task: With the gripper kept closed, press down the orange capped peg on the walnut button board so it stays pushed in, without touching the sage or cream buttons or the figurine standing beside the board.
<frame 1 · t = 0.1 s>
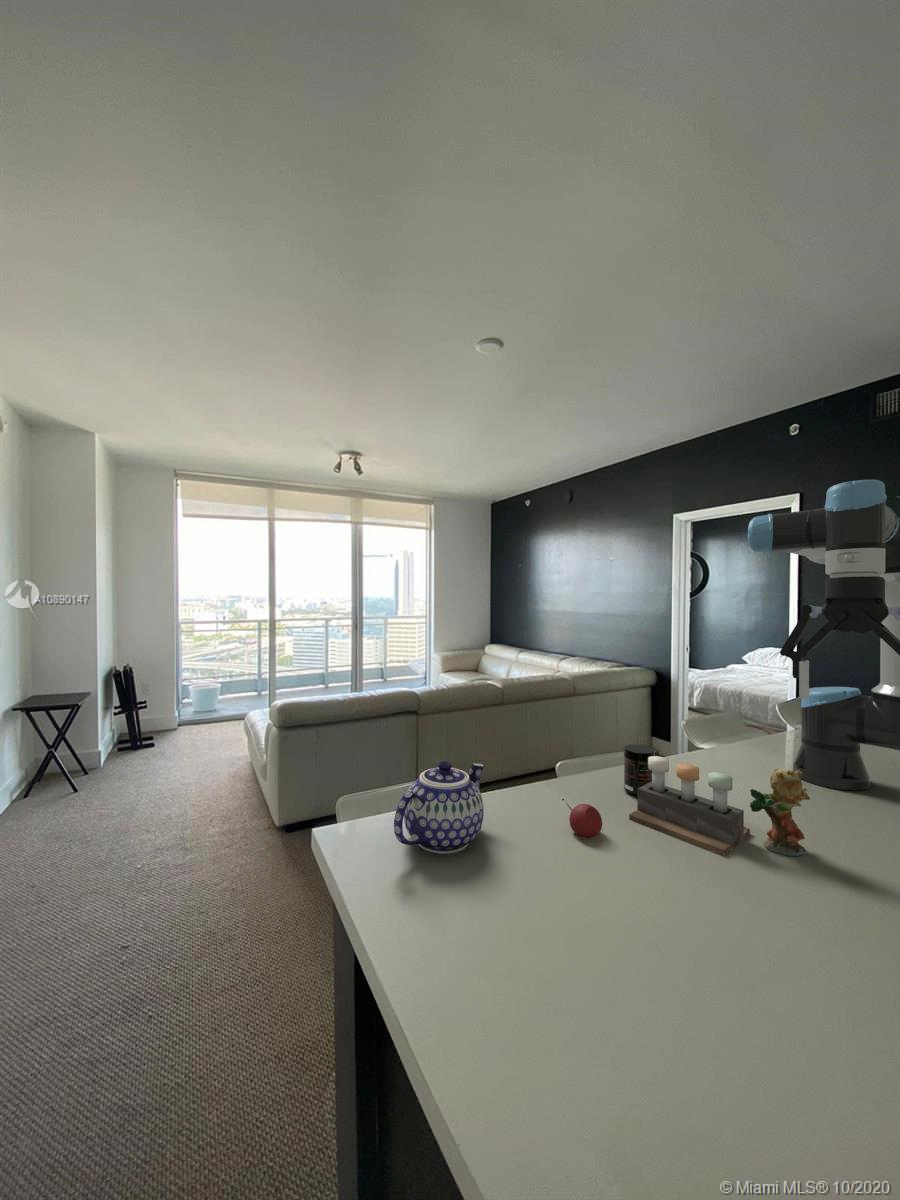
hand: (853, 704, 78), 28 cm above the kitchen island, fingers open, 13 cm apart
fruit: (580, 832, 92), on the kitchen island
teapot: (443, 841, 88), on the kitchen island
figurine: (777, 849, 86), on the kitchen island
sage button: (720, 793, 89), point 9 cm above the kitchen island, slide at 4.0 cm
supplement container: (639, 794, 110), on the kitchen island
cream button: (658, 774, 99), point 9 cm above the kitchen island, slide at 4.0 cm
orange capped peg: (687, 783, 94), point 9 cm above the kitchen island, slide at 4.0 cm
button board: (687, 826, 94), on the kitchen island
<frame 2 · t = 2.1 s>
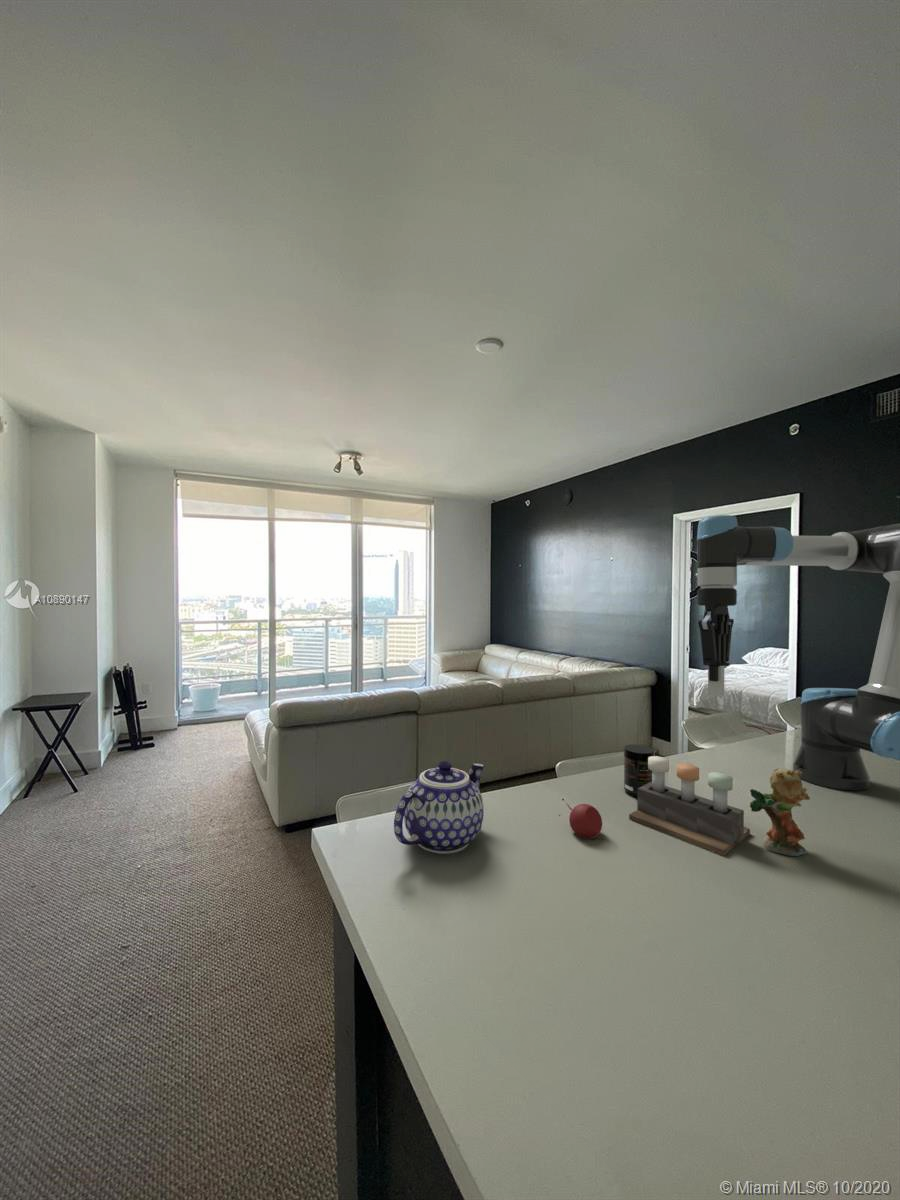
hand: (716, 695, 103), 24 cm above the kitchen island, fingers closed
nothing on the kitchen island moved.
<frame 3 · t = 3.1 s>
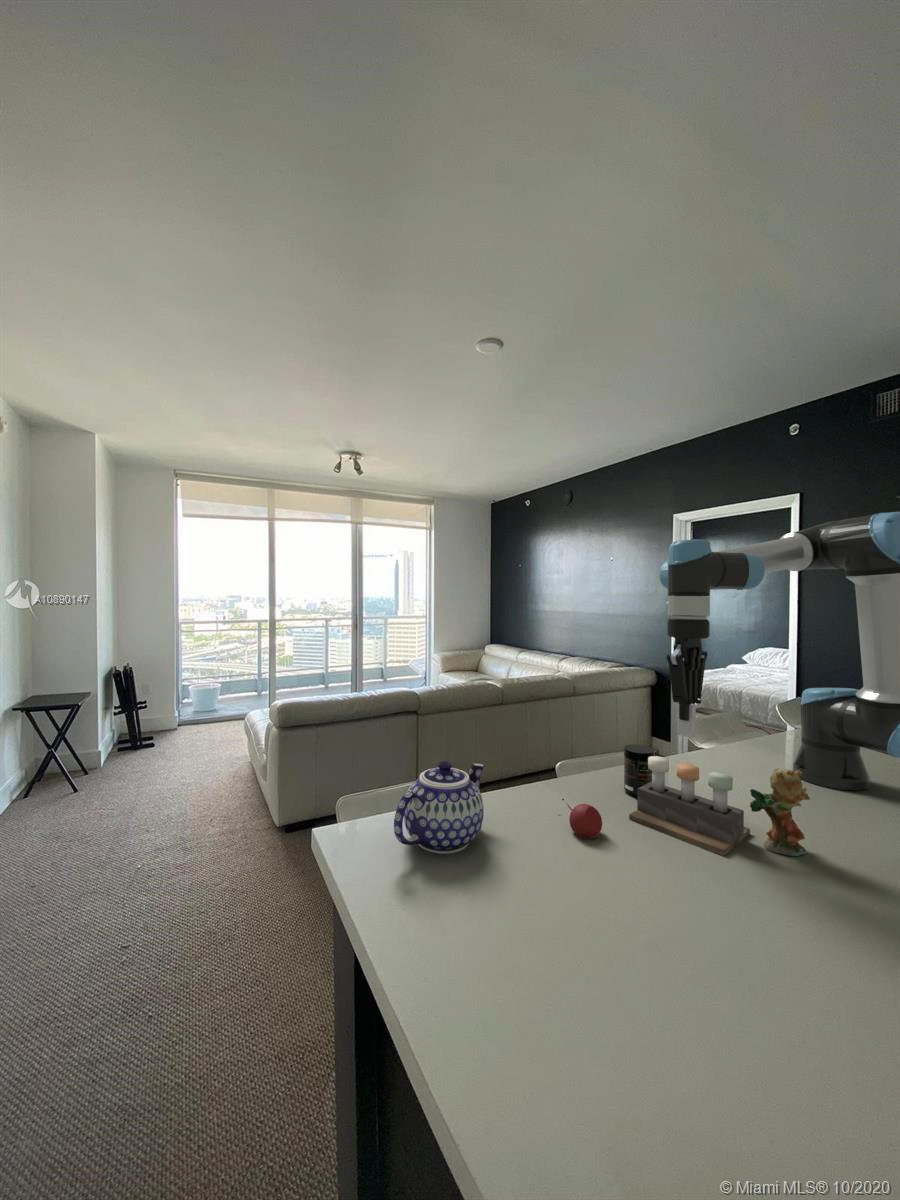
hand: (686, 735, 94), 18 cm above the kitchen island, fingers closed
nothing on the kitchen island moved.
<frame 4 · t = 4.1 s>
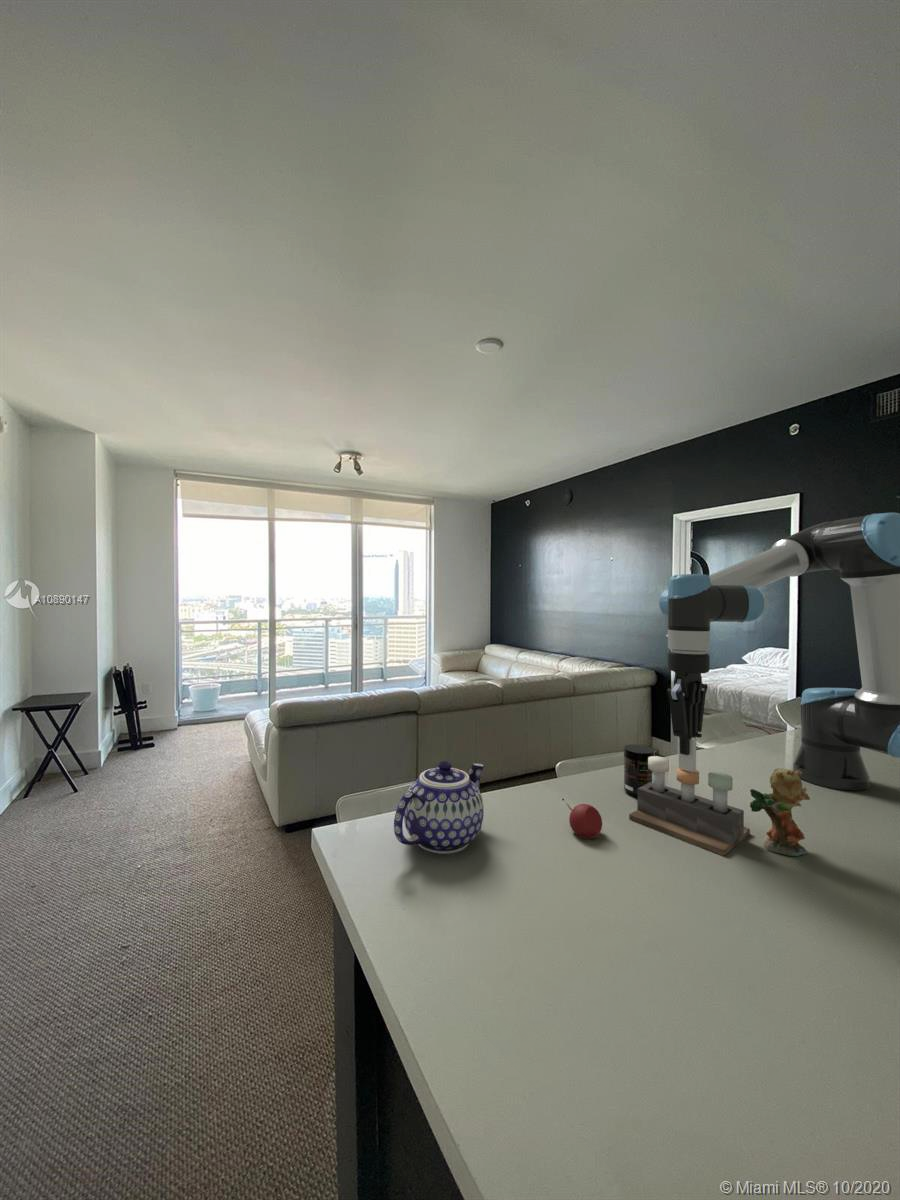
hand: (687, 769, 94), 11 cm above the kitchen island, fingers closed
orange capped peg: (687, 787, 94), point 8 cm above the kitchen island, slide at 3.3 cm, touching gripper
everything else where it was.
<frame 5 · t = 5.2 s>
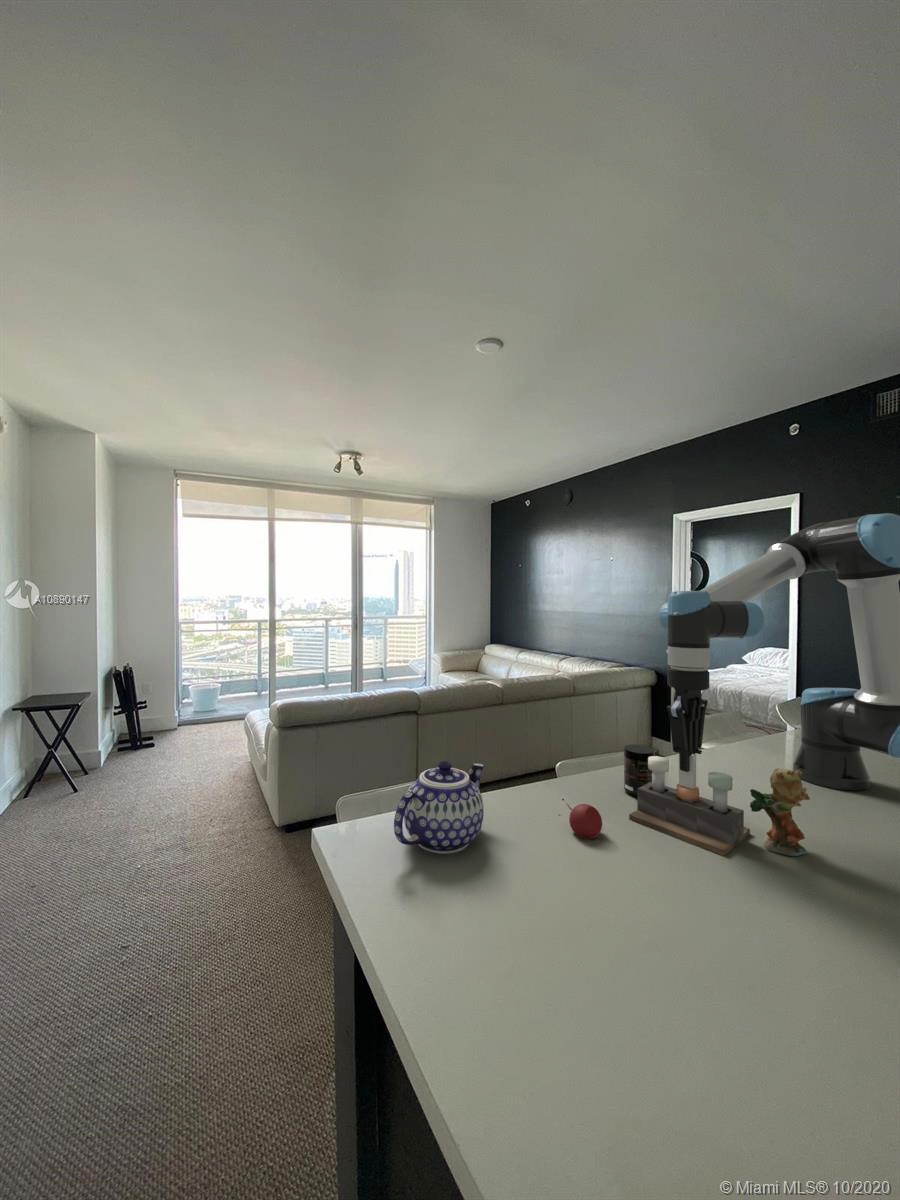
hand: (687, 785, 94), 8 cm above the kitchen island, fingers closed
orange capped peg: (687, 803, 94), point 5 cm above the kitchen island, slide at 0.0 cm, touching gripper
everything else where it was.
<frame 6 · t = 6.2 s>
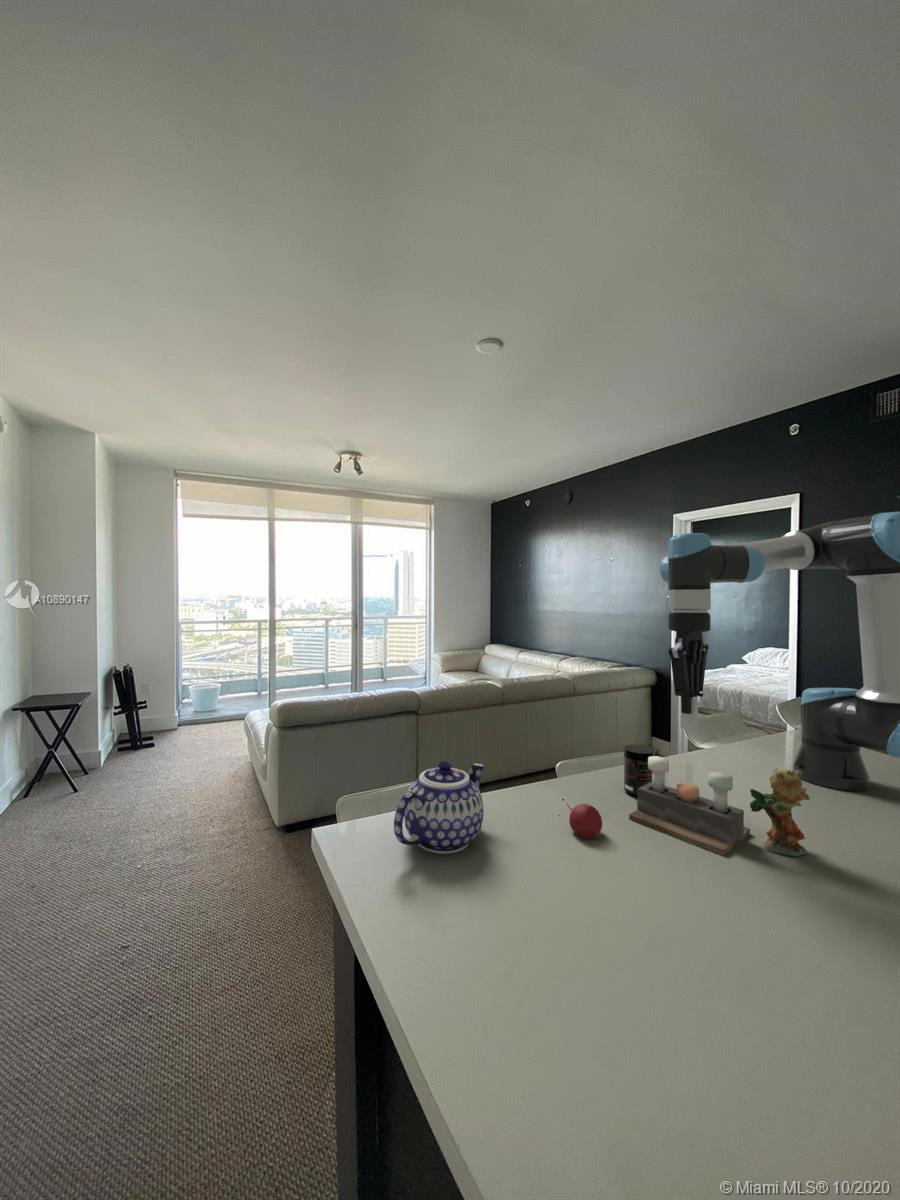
hand: (689, 728, 94), 19 cm above the kitchen island, fingers closed
orange capped peg: (687, 803, 94), point 5 cm above the kitchen island, slide at 0.0 cm
everything else where it was.
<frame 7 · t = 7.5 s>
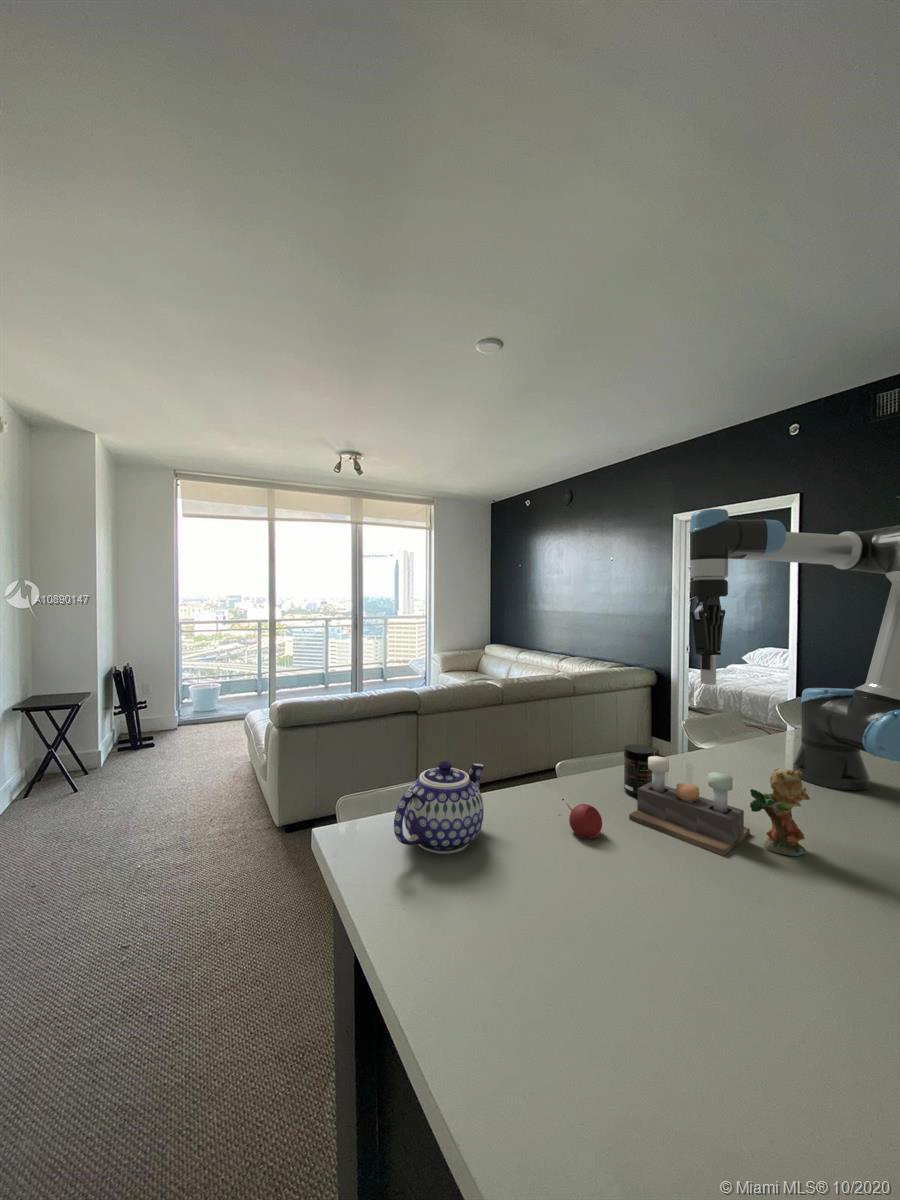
hand: (708, 683, 106), 26 cm above the kitchen island, fingers closed
nothing on the kitchen island moved.
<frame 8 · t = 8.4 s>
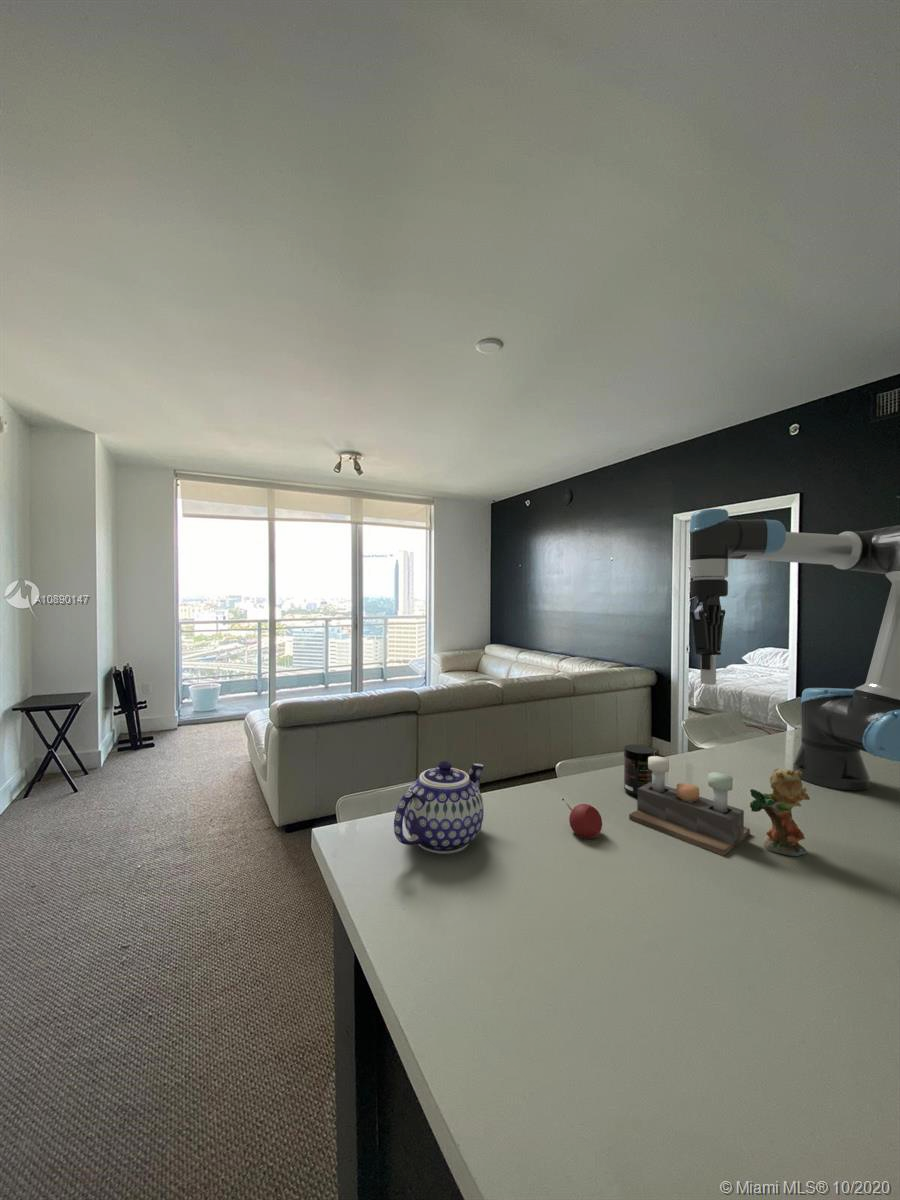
hand: (708, 683, 106), 26 cm above the kitchen island, fingers closed
nothing on the kitchen island moved.
at the end: orange capped peg slide at 0.0 cm; sage button slide at 4.0 cm; cream button slide at 4.0 cm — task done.
